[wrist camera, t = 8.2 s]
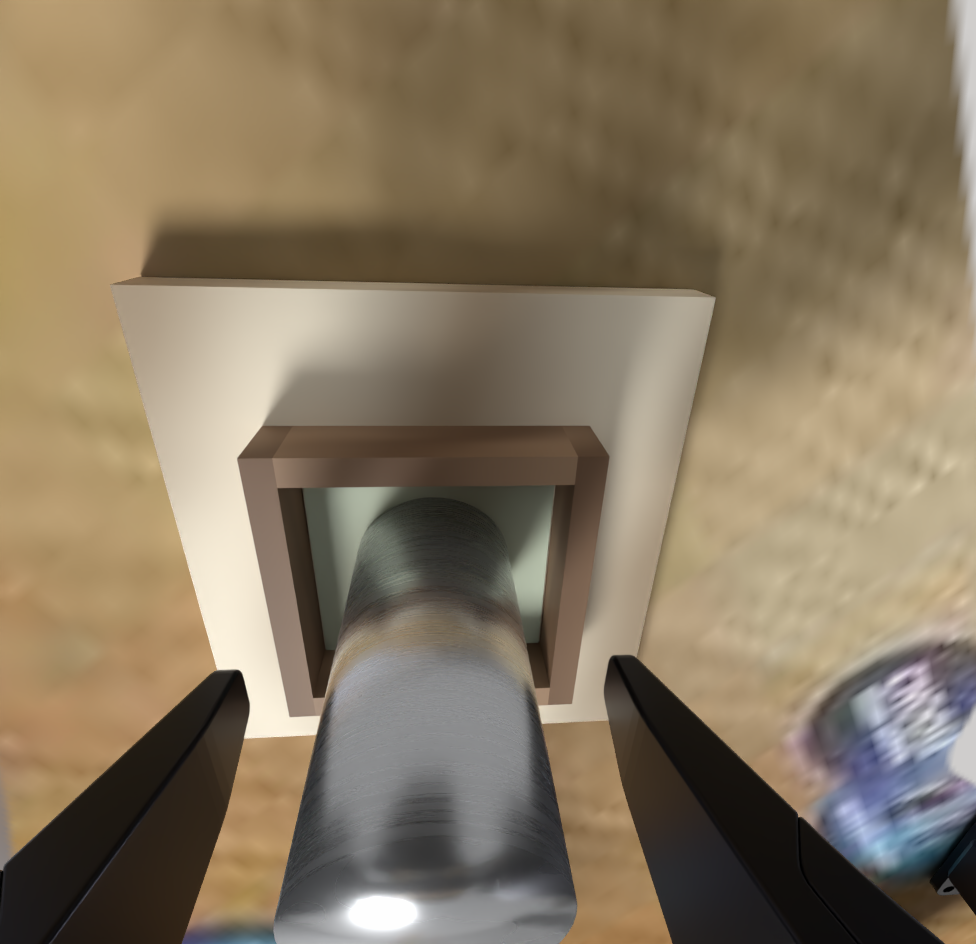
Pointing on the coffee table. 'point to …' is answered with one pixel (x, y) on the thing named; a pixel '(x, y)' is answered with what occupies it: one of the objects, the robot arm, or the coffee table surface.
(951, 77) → the coffee table surface
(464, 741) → the shiny metal cylinder
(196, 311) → the socket board
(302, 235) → the coffee table surface
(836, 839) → the coffee table surface
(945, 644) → the coffee table surface
